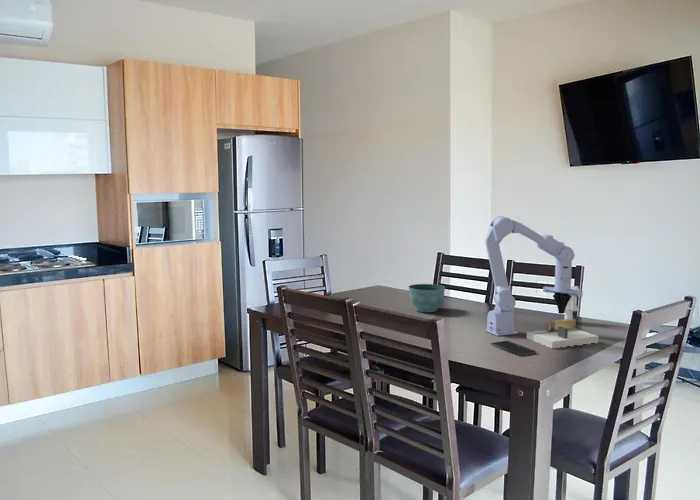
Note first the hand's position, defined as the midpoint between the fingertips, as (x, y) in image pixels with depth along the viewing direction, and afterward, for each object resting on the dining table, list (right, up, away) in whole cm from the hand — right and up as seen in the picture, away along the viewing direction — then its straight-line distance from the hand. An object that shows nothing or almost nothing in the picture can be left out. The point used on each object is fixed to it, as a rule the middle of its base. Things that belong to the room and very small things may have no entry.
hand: (561, 313), depth 216 cm
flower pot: (-46, -3, +40) cm, 61 cm away
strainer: (+9, -6, +17) cm, 21 cm away
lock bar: (-2, -5, -4) cm, 7 cm away
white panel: (-3, -9, -9) cm, 13 cm away
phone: (-24, -11, -20) cm, 33 cm away
